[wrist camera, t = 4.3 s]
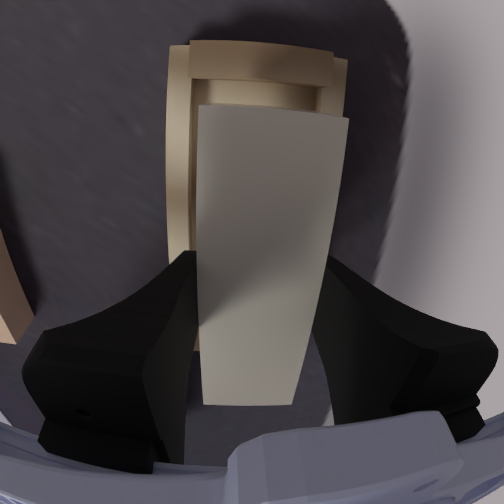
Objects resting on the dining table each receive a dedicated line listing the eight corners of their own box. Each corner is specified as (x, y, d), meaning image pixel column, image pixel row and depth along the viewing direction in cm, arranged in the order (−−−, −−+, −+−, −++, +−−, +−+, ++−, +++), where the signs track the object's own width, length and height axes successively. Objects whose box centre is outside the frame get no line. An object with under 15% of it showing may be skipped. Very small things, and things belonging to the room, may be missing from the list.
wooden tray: (299, 319, 24) (307, 352, 20) (179, 315, 23) (173, 349, 20) (335, 63, 15) (357, 57, 12) (177, 51, 15) (164, 41, 12)
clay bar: (281, 346, 17) (291, 404, 13) (207, 344, 16) (203, 404, 13) (314, 110, 11) (349, 118, 8) (210, 102, 11) (198, 105, 7)
